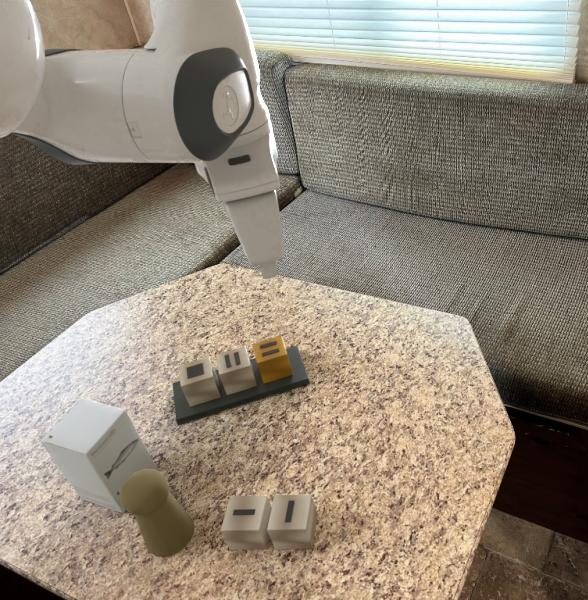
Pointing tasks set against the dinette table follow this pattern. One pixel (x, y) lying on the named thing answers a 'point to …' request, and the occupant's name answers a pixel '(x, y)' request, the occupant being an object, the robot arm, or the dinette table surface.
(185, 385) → the tile
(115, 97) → the robot arm
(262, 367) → the yellow striped cube
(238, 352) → the tile
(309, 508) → the white block
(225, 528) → the off-white cube
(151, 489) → the olive game pawn
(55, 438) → the white packaging box
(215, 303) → the dinette table surface
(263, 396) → the slate board
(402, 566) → the dinette table surface
